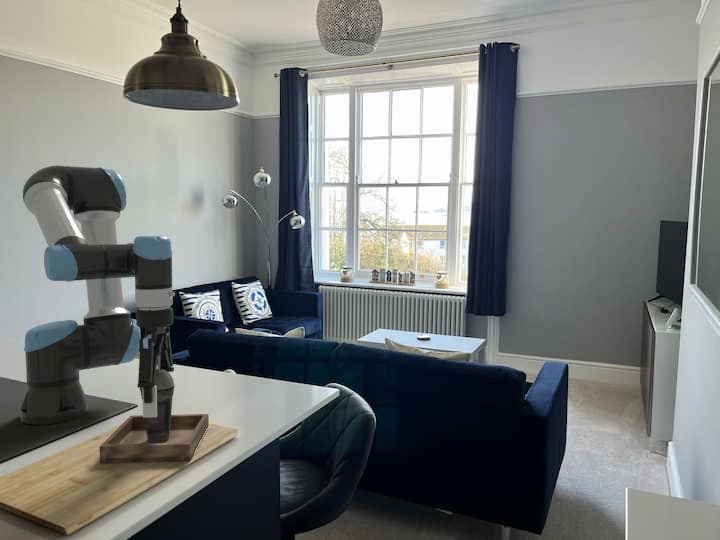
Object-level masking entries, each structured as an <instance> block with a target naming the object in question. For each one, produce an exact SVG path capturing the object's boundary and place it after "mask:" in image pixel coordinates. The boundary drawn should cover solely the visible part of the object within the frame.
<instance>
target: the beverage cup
mask: <svg viewBox="0 0 720 540" xmlns="http://www.w3.org/2000/svg"><path fill="white" fill-rule="evenodd" d="M160 356H161V354H160V355H159V356H158V366H157V370H156V378H155V386H157V417H145V424H146V433H147V438H148V442H150V443H160V442H164V441H167V440H168V439H169V435H170V426H171V415H172V410H173V408H172V406H173V396H174V393H175V387H176V386H175V382H174V378H173V376H172V374H171V373H170V372H169V373H170V374H169V373H168V372H167V371H165V370H163V369H160ZM146 381H147V380H146ZM139 391H140V396H141V399H142V400H143V397H142V388H139Z"/></svg>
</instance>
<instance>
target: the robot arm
mask: <svg viewBox="0 0 720 540" xmlns="http://www.w3.org/2000/svg"><path fill="white" fill-rule="evenodd" d="M22 200H23V202H24V205H25V208H26V209H27V210H28V211H29V213H30V214H32V215H34V216H35V219H36V221H37V223H38V226H39V228H40V230H41V233H42V235H43V237H44V239H45V241H46V244H47V247H46V248H45V249H44V253H43V267H44V271H45V275H46V278H47V279H48V280H49V281H52V282H68V283H69V282H73V281H86V282H85V283H86V292H87V302H88V303H87V304H88V312H87V313H86V314H85V315H84V317H83V324H79V323H78V322H77V321H76V320H73V319H66V320H57V321H51V322H47V323H43V324H39V325H36V326H34V327H31V328H30V329H29V330H27V331H26V333H25V334H24V335H25V336H24V348H23V351H24V353H25V372H26V390H25V394H24V396H23V400H22V403H21V406H20V410H19V418H20V419H19V420H20V422H22V423H24V424H26V425H35V426H37V425H38V426H39V425H53V424H57V423H59V424H60V423H64V422H67V421H72V420H75V419H77V418H80V417H82V416H84V415H86V413H87V412H89V402H88V399H87V395H86V393H85V392H84V389H83V387H82V384H81V383H80V382H81V381H80V371H83V370H91V369H97V368H104V367H109V366H119V365H122V364H126V363H130V362H133V361H134V360H135V359H136V357H137V355H139V357H138V375H137V377H138V379H137V380H138V381H137V383H138V384H136V385H137V386H136V387H137V388H139V389H140V388H142V397H143V399H142V415H143V418H145V417H157V386H155V378H156V370H157V369H158V356H159V355H160V354H161V356H160V369H163V370H165V371H167V372H168V373H169V374H170V375H171V373H173V372H174V371H175V367H174V363H173V354H172V343H171V328H170V326H172V325H173V324H174V308H173V307H172V305H173V304H174V302H173V297H175V296H176V293H175V291H173V257H172V256H173V250H172V242H171V238H170V237H168V236H167V235H166V236H165V235H141V236H140V235H138V236H136V237H135V238H134V239H133V242H128V243H124V244H123V243H121V244H120V243H118V235H117V227H116V226H117V225H116V222H117V221H118V220H119V218H120V217H121V212H122V211H124V210H125V209H126V207H127V191H126V186H125V182H124V180H123V178H122V176H121V175H120V173H119V172H117V171H116V170H114V169H111V168H110V169H109V168H103V167H86V166H83V167H82V166H69V165H50V166H46V167H43V168H41V169H39V170H37V171H36V172H34V173H32V175H31V176H30V177H29V178H28V179H27V180H26V182H25V183H24V185H23V189H22ZM78 223H79V224H80V226H79V224H78ZM123 278H134V293H135V294H134V297H135V298H134V299H135V300H134V301H135V303H134V304H135V307H136V308H137V309H136V310H135V319H134V318H132V316H131V312H130V311H129V310H127V309H126V308H125V306H124V305H125V304H124V296H123V286H122V279H123ZM141 328H143V329H145V330H144V335H143V338H142V337H141ZM138 353H139V354H138ZM146 380H147V381H146ZM142 397H141V398H142Z"/></svg>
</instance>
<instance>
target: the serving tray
mask: <svg viewBox="0 0 720 540" xmlns="http://www.w3.org/2000/svg"><path fill="white" fill-rule="evenodd" d="M208 426H209V427H210V425H209V413H194V414H193V413H191V414H190V413H187V414H171V426H170V435H169V439H168V440H167V441H164V442H160V443H150V442H148V438H147V433H146V424H145V418H143V414H142V415H140V414H139V415H129V417H128V418H126V419H125V420H124V422H122V424H120V425H119V426H118V428H116V429H115V431H114V432H113V433H111V434H110V436H109V437H107V438H106V440H104V442H103V443H101V444H100V445H99V447H98V448H99V463H100V464H118V463H119V464H120V463H121V464H123V463H122V462H130V463H157V462H156V461H158V462H159V461H167V462H191V460H192V459H193V457H194V455H195V454H194V452H195V450H196V448H197V446H198V444H199V442H200V440H201V439H202V437H203V435H204V433H205V431H206V429H207V428H208ZM202 440H203V439H202ZM198 447H199V446H198ZM197 449H198V448H197ZM196 451H197V450H196ZM195 453H196V452H195ZM154 461H155V462H154ZM159 463H160V462H159Z"/></svg>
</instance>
